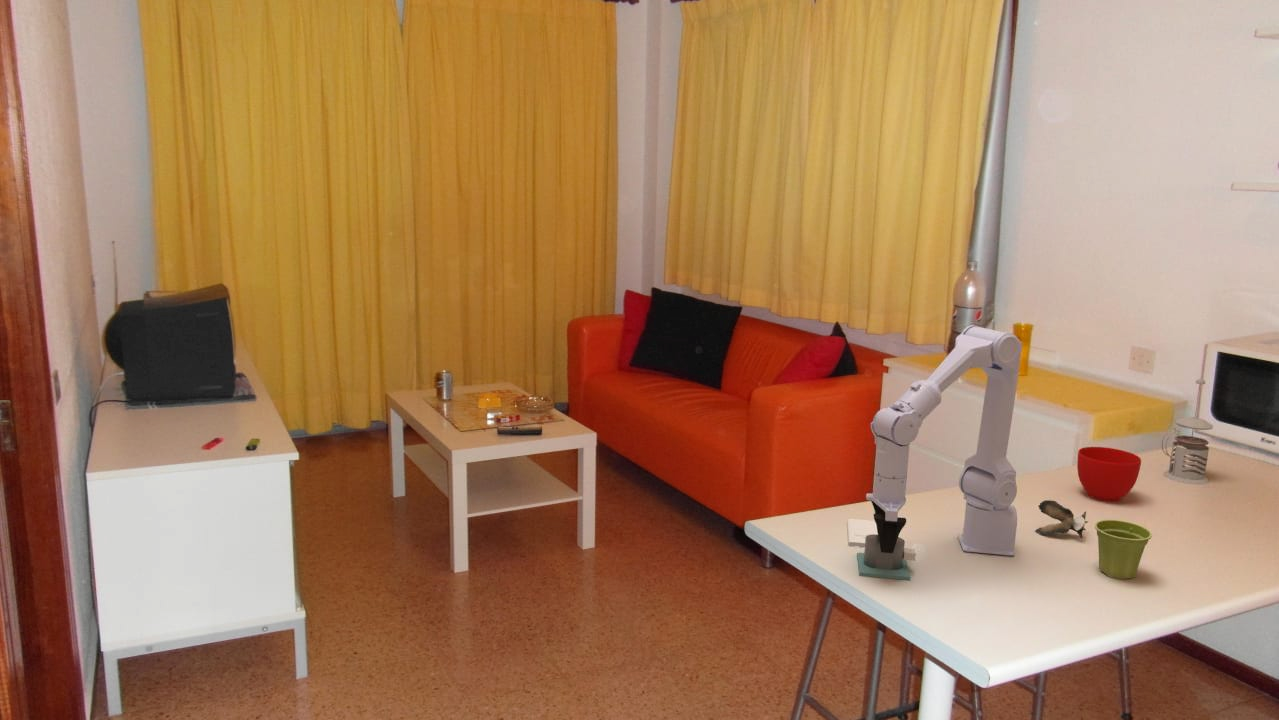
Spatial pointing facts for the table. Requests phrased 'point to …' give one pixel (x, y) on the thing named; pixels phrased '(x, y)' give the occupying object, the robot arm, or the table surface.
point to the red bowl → (1107, 472)
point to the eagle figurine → (1060, 519)
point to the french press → (1189, 451)
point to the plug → (886, 554)
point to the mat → (882, 570)
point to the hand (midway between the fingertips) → (885, 543)
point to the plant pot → (1120, 547)
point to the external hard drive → (860, 531)
